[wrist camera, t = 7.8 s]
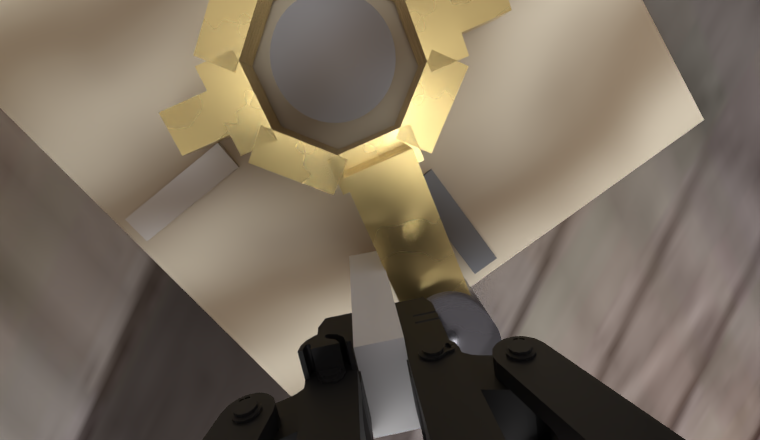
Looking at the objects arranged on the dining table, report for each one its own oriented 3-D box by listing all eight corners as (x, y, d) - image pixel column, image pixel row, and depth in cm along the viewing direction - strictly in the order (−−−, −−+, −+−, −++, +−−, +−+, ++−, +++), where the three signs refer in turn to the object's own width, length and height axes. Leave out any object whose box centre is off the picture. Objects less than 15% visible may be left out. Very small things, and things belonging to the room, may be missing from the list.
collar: (316, 366, 20) (305, 452, 15) (129, 19, 15) (27, -20, 11) (570, 261, 19) (645, 315, 14) (447, -128, 15) (495, -240, 10)
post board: (-54, 14, 17) (-216, -22, 12) (386, -408, 14) (404, -662, 10) (306, 381, 22) (294, 457, 18) (669, 118, 20) (771, 123, 15)
